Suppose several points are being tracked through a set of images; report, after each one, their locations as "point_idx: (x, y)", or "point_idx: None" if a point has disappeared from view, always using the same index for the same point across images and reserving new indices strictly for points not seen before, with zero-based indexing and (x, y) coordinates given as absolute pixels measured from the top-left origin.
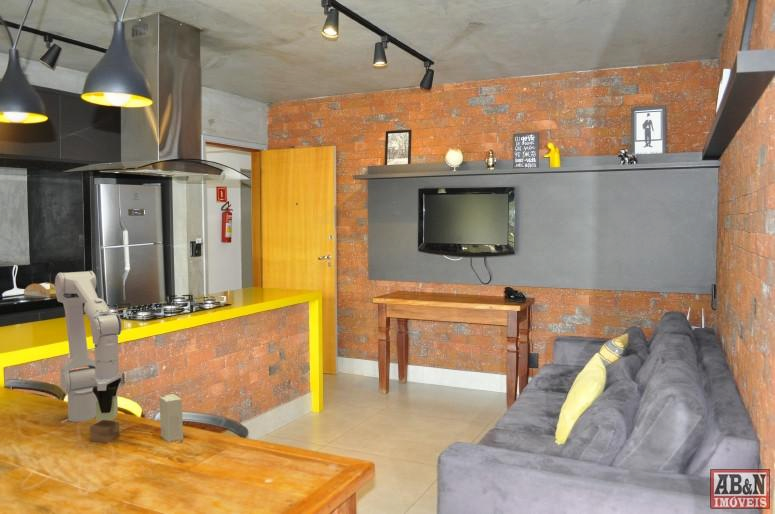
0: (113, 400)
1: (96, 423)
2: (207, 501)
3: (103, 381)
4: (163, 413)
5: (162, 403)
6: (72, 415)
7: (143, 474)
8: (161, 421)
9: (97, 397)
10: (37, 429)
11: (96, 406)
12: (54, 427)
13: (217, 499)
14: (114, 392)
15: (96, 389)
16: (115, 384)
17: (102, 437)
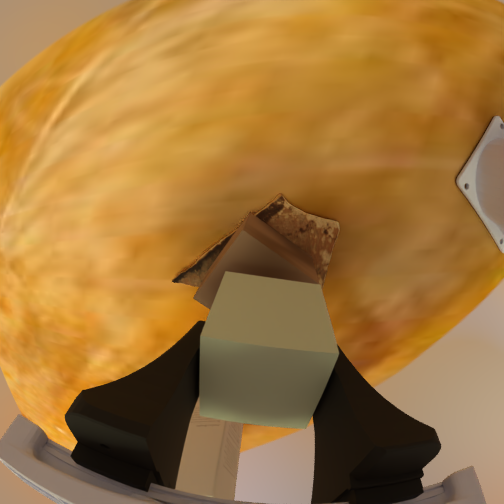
0: (214, 414)
1: (278, 256)
2: (7, 369)
3: (51, 497)
4: (184, 457)
5: (183, 483)
6: (499, 150)
7: (46, 328)
8: (211, 433)
9: (131, 377)
10: (464, 45)
11: (208, 318)
12: (472, 91)
13: (13, 379)
14: (318, 437)
15: (69, 425)
16: (319, 487)
17: (214, 263)
